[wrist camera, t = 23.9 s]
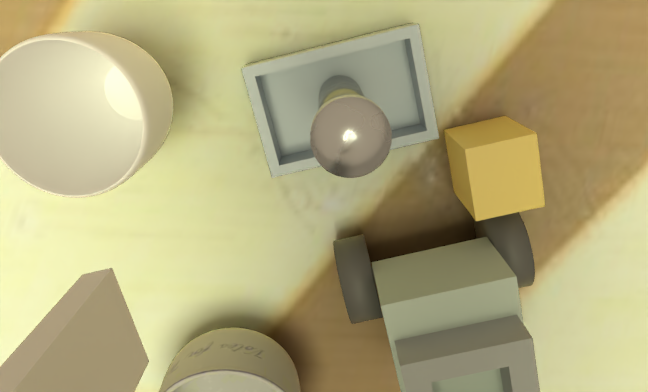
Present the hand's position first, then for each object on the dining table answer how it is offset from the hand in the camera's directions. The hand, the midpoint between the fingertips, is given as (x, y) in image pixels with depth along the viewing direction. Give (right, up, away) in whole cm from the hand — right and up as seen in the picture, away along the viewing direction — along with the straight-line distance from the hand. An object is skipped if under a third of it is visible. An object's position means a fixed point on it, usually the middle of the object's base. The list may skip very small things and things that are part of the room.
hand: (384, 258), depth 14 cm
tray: (0, +8, +25) cm, 27 cm away
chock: (+10, +4, +27) cm, 29 cm away
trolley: (+7, -6, +30) cm, 31 cm away
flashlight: (0, +8, +25) cm, 26 cm away
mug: (-16, +9, +25) cm, 31 cm away
